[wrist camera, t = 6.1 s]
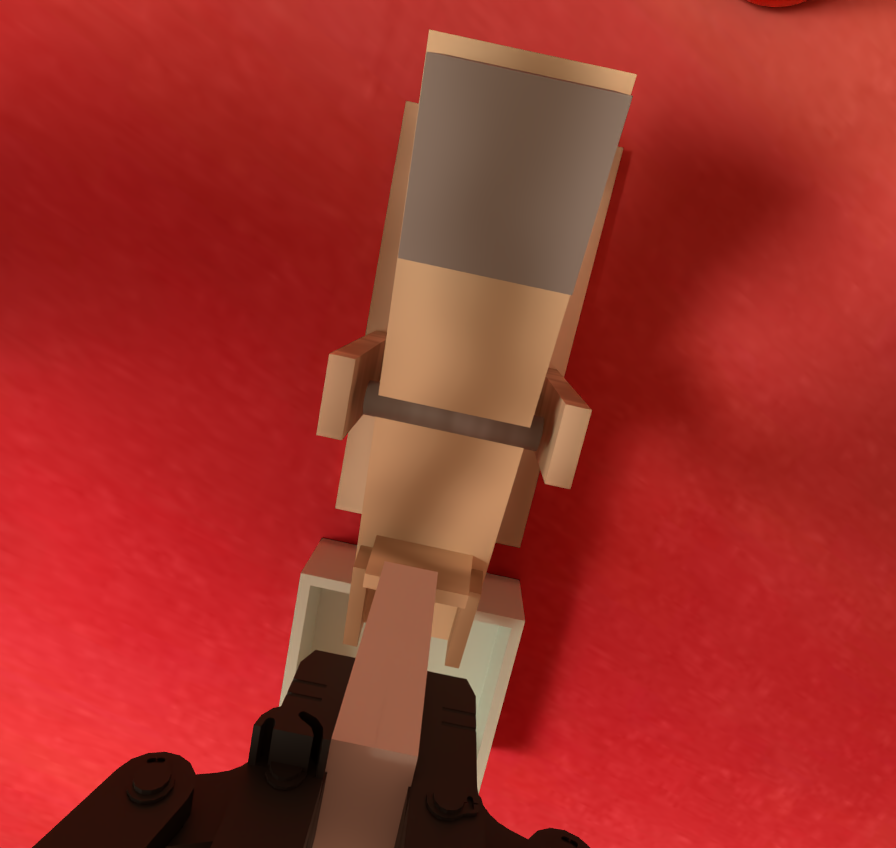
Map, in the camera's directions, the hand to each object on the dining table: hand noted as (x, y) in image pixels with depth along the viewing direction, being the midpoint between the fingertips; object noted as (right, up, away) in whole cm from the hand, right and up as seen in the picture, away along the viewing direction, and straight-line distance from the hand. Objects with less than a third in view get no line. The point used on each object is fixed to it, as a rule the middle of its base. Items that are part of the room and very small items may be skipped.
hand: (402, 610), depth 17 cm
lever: (+2, +5, +7) cm, 9 cm away
